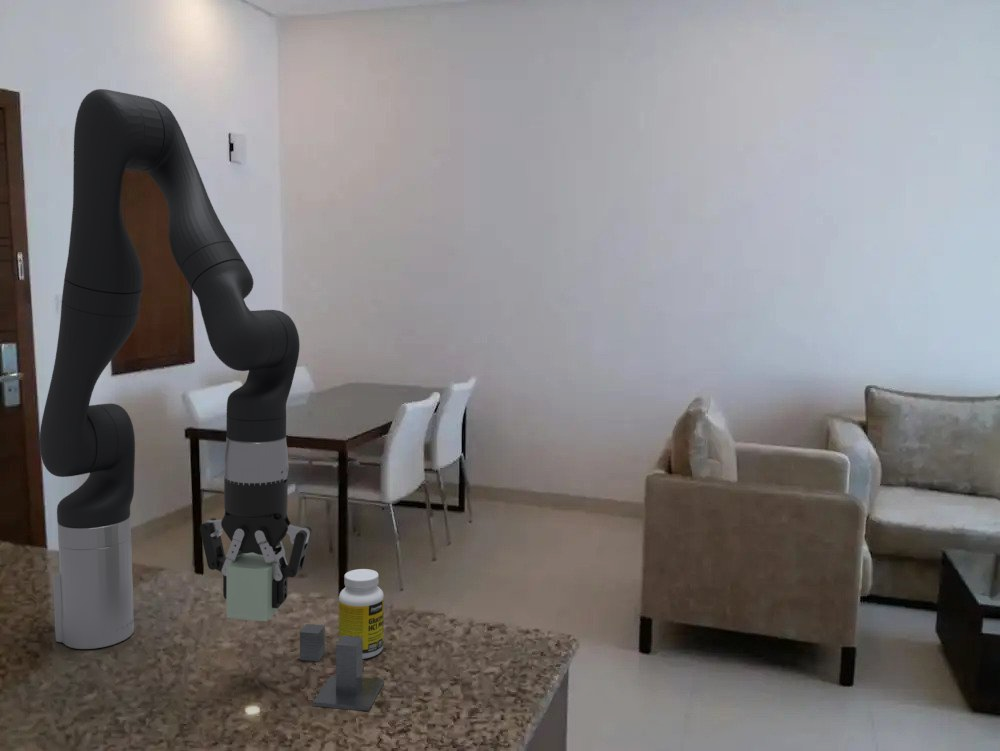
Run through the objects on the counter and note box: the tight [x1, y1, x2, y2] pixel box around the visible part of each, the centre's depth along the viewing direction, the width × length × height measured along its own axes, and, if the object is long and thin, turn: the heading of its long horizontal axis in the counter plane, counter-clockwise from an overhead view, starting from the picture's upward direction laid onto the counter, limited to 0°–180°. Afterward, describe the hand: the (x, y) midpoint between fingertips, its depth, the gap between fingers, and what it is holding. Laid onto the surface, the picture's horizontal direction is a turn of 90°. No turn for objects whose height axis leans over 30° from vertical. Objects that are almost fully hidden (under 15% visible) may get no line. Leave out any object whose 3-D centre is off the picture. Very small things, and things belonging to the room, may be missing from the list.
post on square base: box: [312, 636, 385, 712], centre depth 104 cm, size 7×7×7 cm
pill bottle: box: [338, 568, 385, 660], centre depth 116 cm, size 6×6×11 cm
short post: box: [299, 623, 326, 663], centre depth 114 cm, size 3×3×4 cm
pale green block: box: [225, 553, 284, 622], centre depth 104 cm, size 5×5×7 cm
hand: (255, 603), depth 105 cm, fingers closed on pale green block, 5 cm apart
